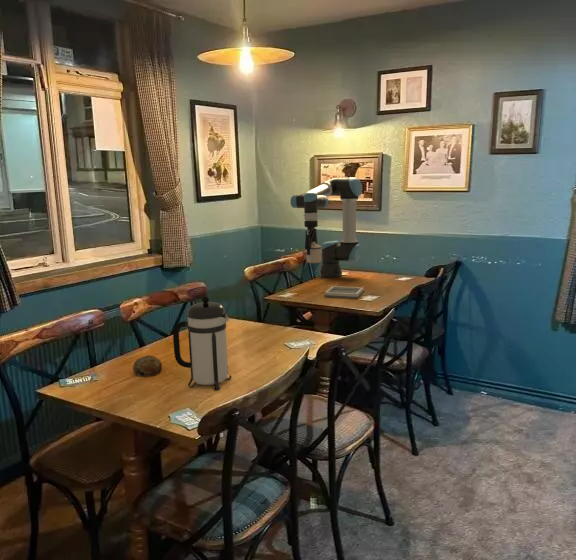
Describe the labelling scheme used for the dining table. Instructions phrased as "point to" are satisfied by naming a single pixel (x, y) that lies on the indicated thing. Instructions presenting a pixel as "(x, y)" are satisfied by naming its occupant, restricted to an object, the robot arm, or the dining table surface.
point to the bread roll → (147, 366)
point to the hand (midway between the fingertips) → (311, 259)
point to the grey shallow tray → (344, 292)
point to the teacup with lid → (314, 253)
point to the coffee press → (205, 343)
